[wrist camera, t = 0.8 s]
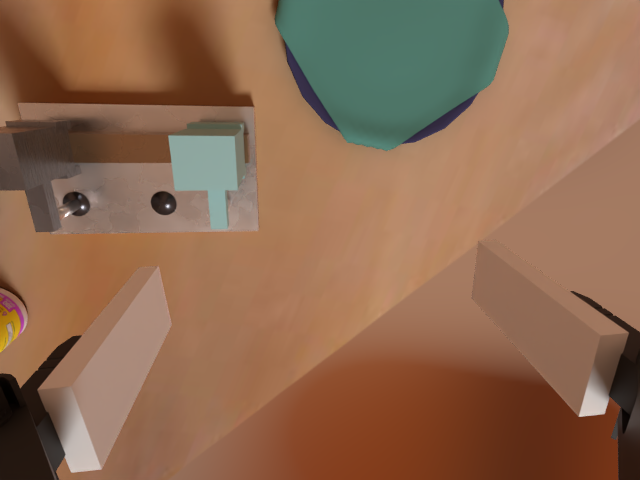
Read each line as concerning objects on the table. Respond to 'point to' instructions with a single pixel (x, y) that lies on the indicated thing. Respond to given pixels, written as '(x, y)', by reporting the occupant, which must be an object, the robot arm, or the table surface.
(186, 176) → the block
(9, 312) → the supplement bottle
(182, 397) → the table surface
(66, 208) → the base
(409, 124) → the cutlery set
